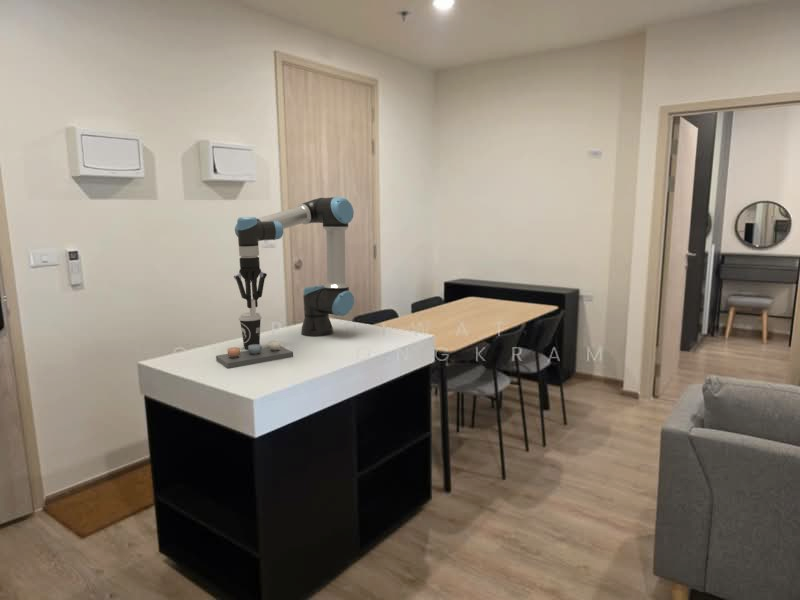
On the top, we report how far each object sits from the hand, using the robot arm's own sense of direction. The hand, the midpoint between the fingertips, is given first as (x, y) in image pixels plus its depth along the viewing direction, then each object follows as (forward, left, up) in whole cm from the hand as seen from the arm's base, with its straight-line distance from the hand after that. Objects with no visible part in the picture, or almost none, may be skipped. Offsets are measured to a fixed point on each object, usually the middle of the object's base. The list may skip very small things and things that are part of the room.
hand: (253, 315), depth 217 cm
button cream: (-8, 0, -17) cm, 19 cm away
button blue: (0, 0, -17) cm, 17 cm away
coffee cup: (-5, -18, -18) cm, 26 cm away
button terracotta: (+9, 0, -17) cm, 19 cm away
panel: (0, 0, -18) cm, 18 cm away
